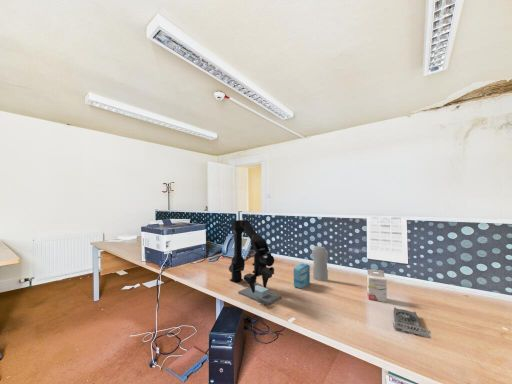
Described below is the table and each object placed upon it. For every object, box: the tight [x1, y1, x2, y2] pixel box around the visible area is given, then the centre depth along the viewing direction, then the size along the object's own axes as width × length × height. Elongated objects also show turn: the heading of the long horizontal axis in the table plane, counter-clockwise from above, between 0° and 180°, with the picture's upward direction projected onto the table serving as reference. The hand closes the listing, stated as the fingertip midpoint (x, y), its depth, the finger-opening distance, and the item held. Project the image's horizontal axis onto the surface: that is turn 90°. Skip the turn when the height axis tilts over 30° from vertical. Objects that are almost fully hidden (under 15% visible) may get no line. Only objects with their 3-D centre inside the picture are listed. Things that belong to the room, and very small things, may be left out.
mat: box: [237, 286, 283, 307], centre depth 122 cm, size 22×12×1 cm, turn 46°
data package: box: [293, 263, 311, 289], centre depth 135 cm, size 12×4×12 cm, turn 138°
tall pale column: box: [311, 245, 329, 282], centre depth 144 cm, size 11×4×22 cm, turn 55°
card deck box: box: [250, 284, 269, 298], centre depth 122 cm, size 6×8×3 cm, turn 46°
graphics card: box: [392, 306, 431, 339], centre depth 93 cm, size 17×4×12 cm
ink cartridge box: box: [366, 269, 388, 303], centre depth 116 cm, size 9×5×15 cm, turn 71°
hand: (259, 289), depth 122 cm, fingers open, 9 cm apart
